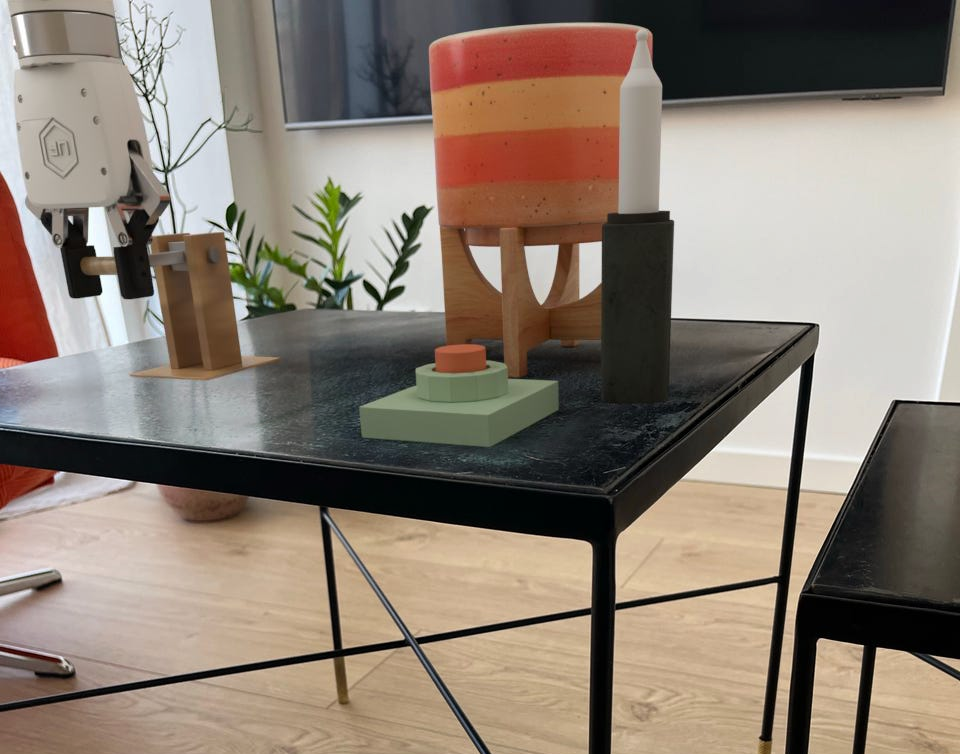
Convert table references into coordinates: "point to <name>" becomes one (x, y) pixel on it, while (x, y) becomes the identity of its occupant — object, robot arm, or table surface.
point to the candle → (637, 250)
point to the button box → (460, 407)
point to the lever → (173, 257)
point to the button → (460, 358)
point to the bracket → (199, 312)
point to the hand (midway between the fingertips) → (111, 294)
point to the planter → (526, 172)
